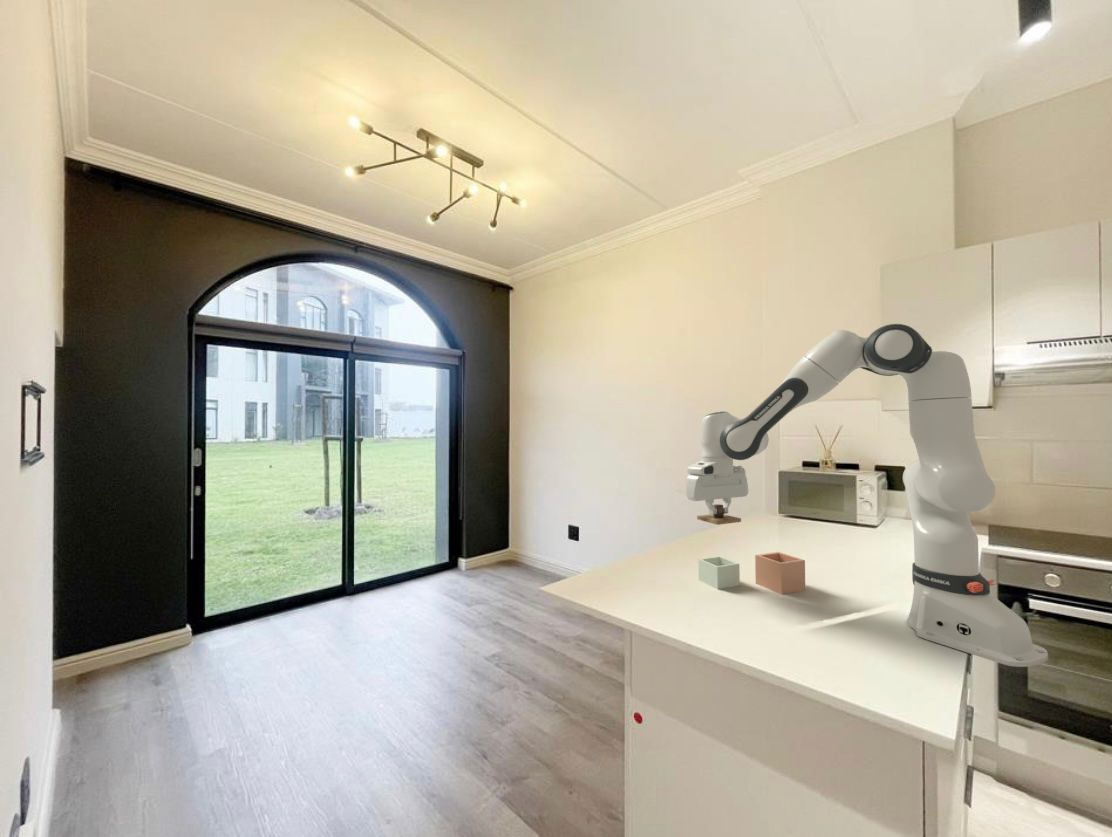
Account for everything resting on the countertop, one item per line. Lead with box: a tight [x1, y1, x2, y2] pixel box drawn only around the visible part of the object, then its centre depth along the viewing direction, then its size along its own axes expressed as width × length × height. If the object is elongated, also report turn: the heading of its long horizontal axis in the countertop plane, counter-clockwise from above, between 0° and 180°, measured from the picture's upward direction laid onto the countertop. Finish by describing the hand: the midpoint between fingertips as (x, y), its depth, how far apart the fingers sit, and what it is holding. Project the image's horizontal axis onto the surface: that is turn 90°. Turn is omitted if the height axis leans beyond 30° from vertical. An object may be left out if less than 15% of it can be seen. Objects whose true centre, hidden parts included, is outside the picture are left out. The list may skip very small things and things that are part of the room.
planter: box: [754, 551, 806, 595], centre depth 126 cm, size 9×9×9 cm
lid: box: [696, 503, 742, 526], centre depth 130 cm, size 9×9×4 cm
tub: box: [698, 555, 741, 590], centre depth 129 cm, size 8×8×7 cm
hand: (718, 513), depth 130 cm, fingers closed on lid, 3 cm apart
